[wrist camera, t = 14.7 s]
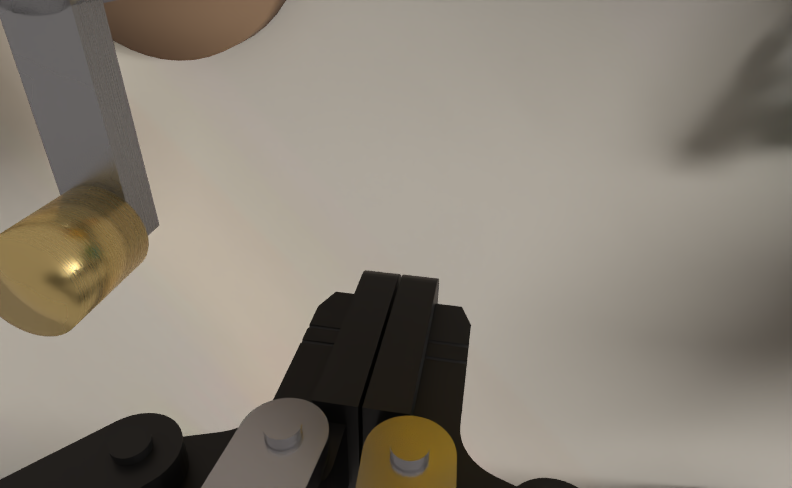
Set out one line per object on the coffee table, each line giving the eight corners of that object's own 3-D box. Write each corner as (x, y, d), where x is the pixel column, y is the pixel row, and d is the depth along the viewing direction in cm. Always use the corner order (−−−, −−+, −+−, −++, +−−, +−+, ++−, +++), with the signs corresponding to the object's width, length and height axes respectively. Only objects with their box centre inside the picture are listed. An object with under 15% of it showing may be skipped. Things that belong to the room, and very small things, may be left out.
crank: (-78, -202, 13) (-313, -247, 9) (100, -213, 12) (-78, -266, 8) (75, 245, 19) (-31, 327, 15) (201, 256, 18) (122, 344, 14)
